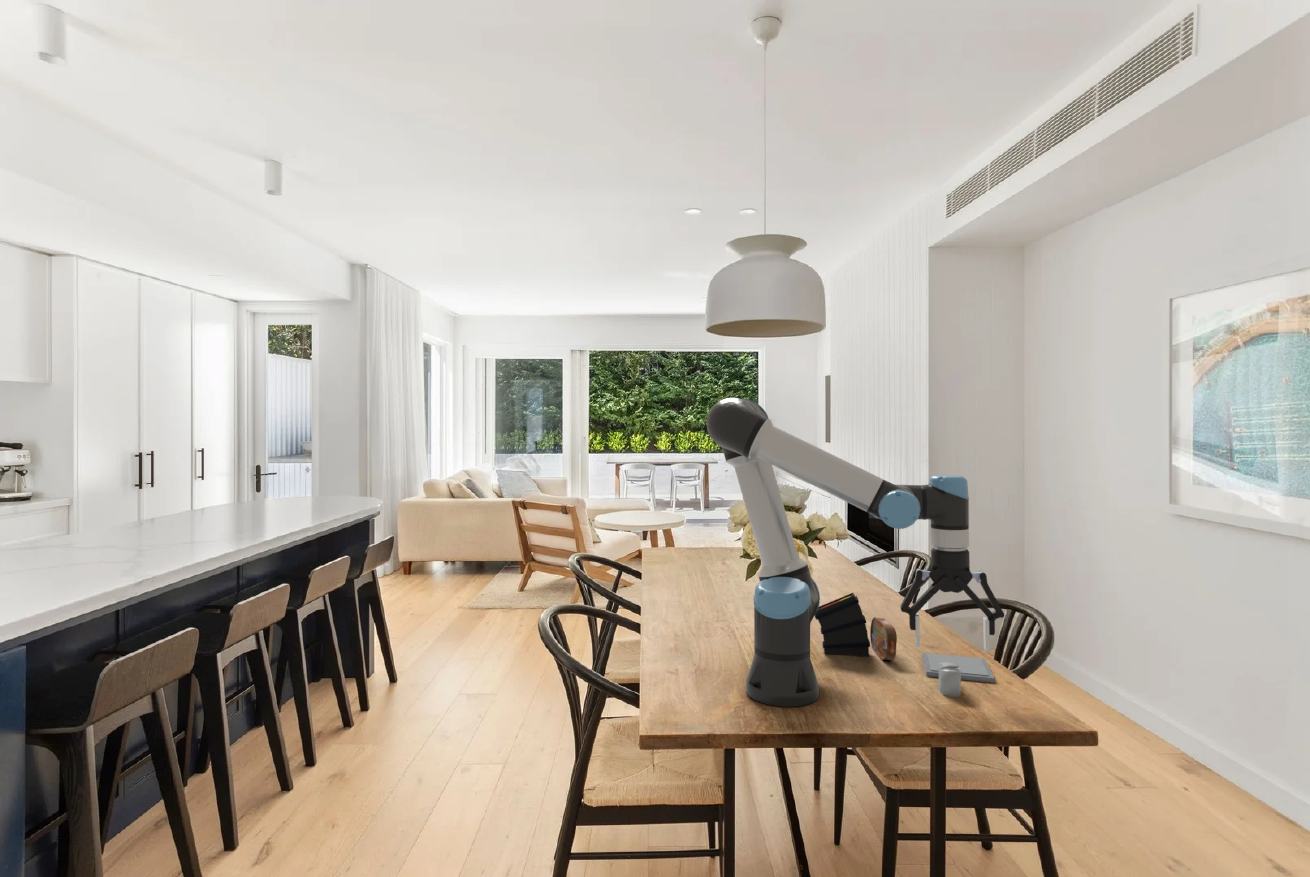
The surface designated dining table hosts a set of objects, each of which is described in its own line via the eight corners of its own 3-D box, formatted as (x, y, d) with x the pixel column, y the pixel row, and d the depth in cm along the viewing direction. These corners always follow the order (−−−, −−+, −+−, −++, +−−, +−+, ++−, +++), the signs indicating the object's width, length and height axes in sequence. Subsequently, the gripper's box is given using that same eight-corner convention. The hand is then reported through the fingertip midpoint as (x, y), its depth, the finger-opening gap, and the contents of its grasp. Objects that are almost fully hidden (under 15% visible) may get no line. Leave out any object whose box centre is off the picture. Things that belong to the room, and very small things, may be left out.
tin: (869, 645, 177) (869, 613, 177) (881, 645, 177) (881, 613, 177) (885, 665, 162) (885, 629, 162) (898, 665, 162) (898, 629, 162)
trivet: (926, 676, 155) (926, 670, 155) (921, 656, 168) (921, 651, 168) (994, 682, 150) (994, 677, 150) (984, 662, 164) (984, 657, 164)
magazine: (883, 651, 167) (855, 595, 168) (832, 671, 169) (806, 615, 171) (881, 646, 171) (854, 591, 172) (832, 666, 173) (806, 611, 174)
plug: (941, 695, 143) (941, 672, 143) (936, 680, 152) (936, 658, 152) (961, 698, 142) (961, 674, 142) (956, 682, 151) (956, 659, 151)
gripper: (1011, 547, 145) (1012, 646, 145) (887, 543, 153) (889, 638, 153) (1018, 552, 138) (1020, 657, 138) (888, 548, 146) (890, 648, 146)
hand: (951, 647), depth 146 cm, fingers open, 13 cm apart
